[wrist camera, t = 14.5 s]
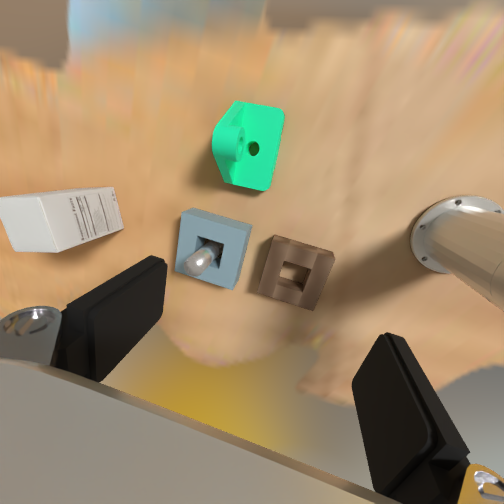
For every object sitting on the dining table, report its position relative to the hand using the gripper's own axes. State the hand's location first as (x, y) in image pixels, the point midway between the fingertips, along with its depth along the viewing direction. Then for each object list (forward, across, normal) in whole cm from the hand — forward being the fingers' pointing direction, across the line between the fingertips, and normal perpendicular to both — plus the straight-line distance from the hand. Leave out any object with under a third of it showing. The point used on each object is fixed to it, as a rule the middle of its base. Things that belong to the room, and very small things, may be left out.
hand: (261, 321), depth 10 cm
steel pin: (+33, +12, +12) cm, 37 cm away
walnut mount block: (+33, -4, +12) cm, 36 cm away
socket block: (+33, +12, +12) cm, 37 cm away
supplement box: (+34, +38, +12) cm, 52 cm away
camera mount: (+34, +9, -7) cm, 35 cm away
